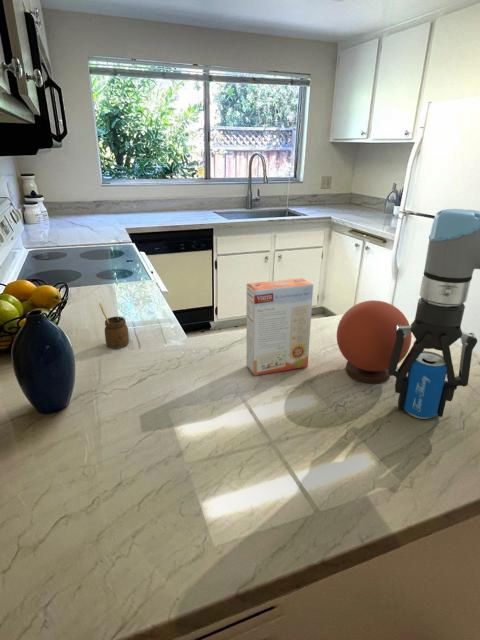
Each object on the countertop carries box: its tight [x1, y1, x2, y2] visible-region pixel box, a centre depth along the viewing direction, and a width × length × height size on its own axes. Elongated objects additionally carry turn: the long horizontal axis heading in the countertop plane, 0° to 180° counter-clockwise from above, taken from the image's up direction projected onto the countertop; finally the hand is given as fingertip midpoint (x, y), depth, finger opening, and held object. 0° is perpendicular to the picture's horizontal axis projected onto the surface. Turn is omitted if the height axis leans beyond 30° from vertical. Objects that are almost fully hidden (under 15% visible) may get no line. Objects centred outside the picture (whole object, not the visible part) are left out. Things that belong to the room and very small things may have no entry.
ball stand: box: [336, 299, 413, 385], centre depth 91 cm, size 16×16×18 cm
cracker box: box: [246, 277, 314, 377], centre depth 93 cm, size 14×6×21 cm, turn 108°
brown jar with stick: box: [98, 302, 130, 349], centre depth 105 cm, size 6×6×12 cm
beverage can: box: [403, 350, 447, 420], centre depth 78 cm, size 6×6×12 cm
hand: (419, 409), depth 80 cm, fingers closed on beverage can, 6 cm apart
